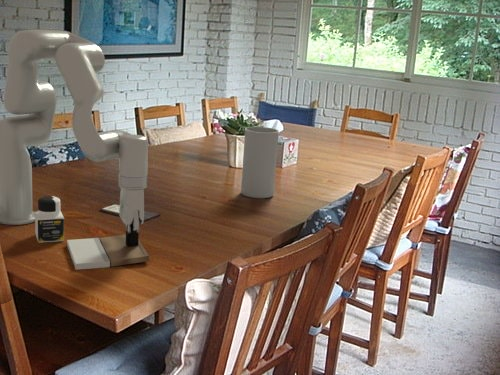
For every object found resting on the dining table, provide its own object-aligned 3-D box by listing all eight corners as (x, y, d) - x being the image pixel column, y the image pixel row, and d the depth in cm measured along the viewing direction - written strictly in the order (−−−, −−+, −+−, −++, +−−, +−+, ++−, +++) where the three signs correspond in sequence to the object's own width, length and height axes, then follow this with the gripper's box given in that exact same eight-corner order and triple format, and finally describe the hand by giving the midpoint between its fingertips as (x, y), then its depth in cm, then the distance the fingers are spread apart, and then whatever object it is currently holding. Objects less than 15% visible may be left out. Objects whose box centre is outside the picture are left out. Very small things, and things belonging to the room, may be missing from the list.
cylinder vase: (236, 190, 248) (240, 126, 241) (267, 189, 252) (272, 126, 245) (246, 199, 236) (251, 132, 230) (278, 198, 240) (283, 133, 234)
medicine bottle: (37, 243, 179) (37, 202, 176) (35, 234, 186) (34, 195, 182) (64, 241, 182) (64, 200, 179) (60, 233, 188) (60, 193, 185)
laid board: (75, 269, 163) (75, 263, 163) (67, 245, 179) (67, 239, 179) (109, 267, 166) (109, 260, 166) (98, 243, 182) (98, 237, 182)
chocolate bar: (143, 220, 203) (99, 209, 211) (143, 223, 203) (99, 212, 211) (160, 214, 211) (117, 203, 219) (160, 217, 211) (117, 206, 219)
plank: (111, 266, 167) (111, 260, 166) (99, 242, 183) (99, 237, 182) (149, 261, 170) (148, 255, 170) (134, 238, 186) (134, 233, 186)
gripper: (113, 174, 177) (113, 237, 182) (124, 189, 164) (123, 256, 169) (140, 173, 180) (139, 235, 185) (153, 187, 167) (151, 254, 171)
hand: (131, 245), depth 177 cm, fingers closed
